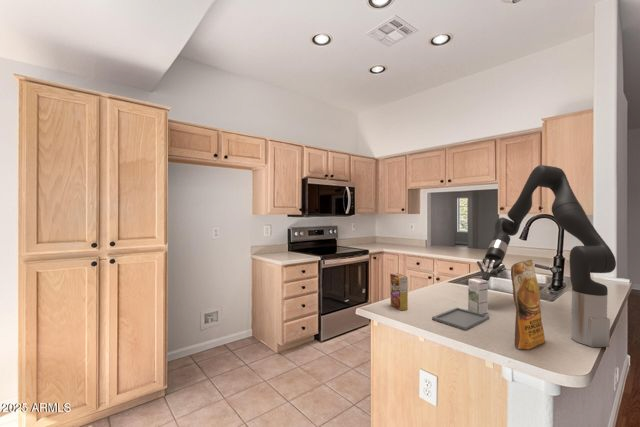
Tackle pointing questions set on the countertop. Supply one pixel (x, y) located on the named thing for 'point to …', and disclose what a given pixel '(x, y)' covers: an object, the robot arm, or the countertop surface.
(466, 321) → the tray
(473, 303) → the syrup box
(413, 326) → the countertop surface
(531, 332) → the pancake mix bag
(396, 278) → the candy box
